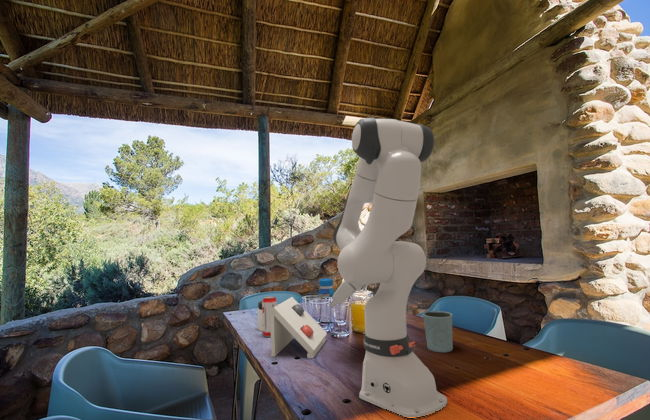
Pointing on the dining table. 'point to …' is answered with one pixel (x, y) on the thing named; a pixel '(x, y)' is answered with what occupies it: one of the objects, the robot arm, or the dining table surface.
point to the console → (294, 329)
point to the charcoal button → (298, 309)
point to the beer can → (267, 313)
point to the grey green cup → (438, 330)
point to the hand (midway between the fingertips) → (331, 305)
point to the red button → (307, 331)
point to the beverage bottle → (326, 288)
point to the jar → (260, 316)
